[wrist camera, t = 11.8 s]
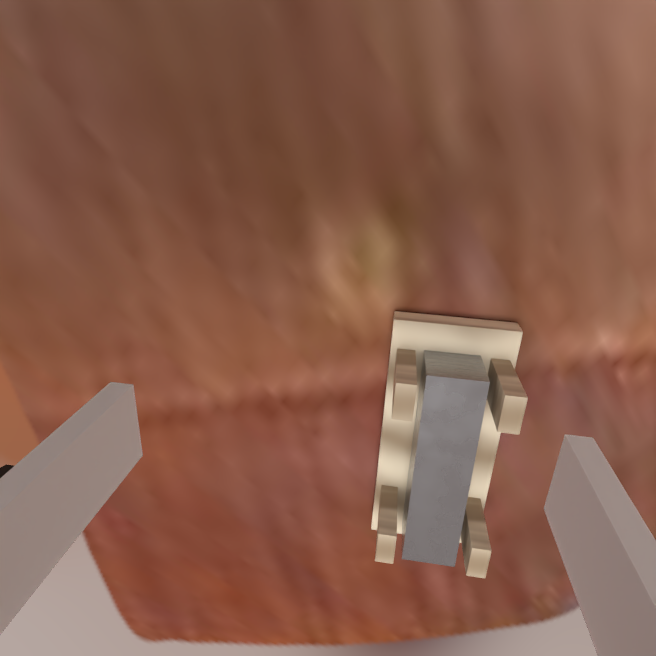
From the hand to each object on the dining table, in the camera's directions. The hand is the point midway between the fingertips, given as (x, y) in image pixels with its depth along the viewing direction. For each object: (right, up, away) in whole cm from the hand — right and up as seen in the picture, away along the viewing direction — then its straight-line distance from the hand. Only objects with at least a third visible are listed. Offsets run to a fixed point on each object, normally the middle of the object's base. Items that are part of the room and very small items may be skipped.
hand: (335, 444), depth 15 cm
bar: (+9, -7, +27) cm, 30 cm away
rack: (+10, -6, +29) cm, 31 cm away
